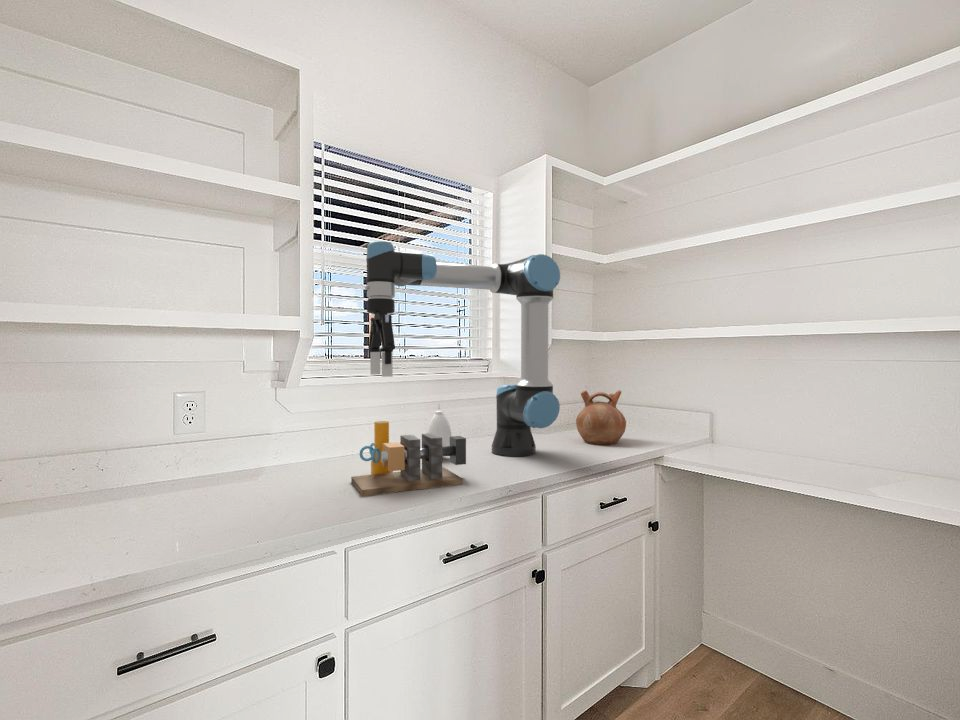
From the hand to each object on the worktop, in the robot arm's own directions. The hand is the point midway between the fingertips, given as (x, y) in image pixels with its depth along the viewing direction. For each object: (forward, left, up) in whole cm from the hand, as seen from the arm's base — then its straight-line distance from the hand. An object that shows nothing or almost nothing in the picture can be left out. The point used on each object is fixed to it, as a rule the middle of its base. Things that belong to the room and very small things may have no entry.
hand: (381, 375), depth 140 cm
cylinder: (0, 0, -28) cm, 28 cm away
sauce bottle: (-22, -15, -28) cm, 39 cm away
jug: (-88, -16, -28) cm, 94 cm away
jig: (-4, +11, -28) cm, 30 cm away
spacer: (-1, +11, -24) cm, 26 cm away
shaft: (-9, +11, -24) cm, 28 cm away
